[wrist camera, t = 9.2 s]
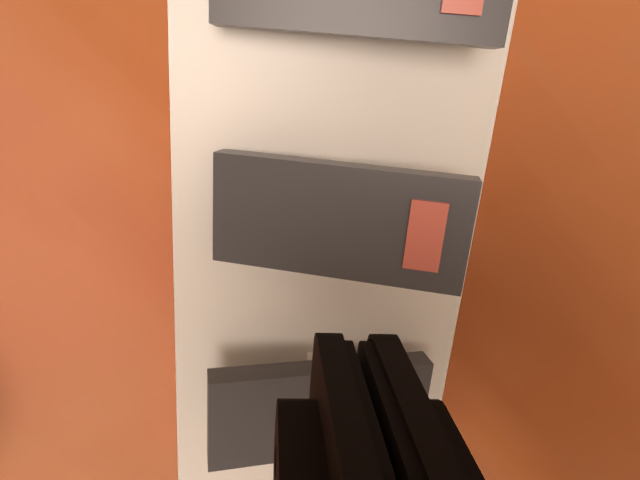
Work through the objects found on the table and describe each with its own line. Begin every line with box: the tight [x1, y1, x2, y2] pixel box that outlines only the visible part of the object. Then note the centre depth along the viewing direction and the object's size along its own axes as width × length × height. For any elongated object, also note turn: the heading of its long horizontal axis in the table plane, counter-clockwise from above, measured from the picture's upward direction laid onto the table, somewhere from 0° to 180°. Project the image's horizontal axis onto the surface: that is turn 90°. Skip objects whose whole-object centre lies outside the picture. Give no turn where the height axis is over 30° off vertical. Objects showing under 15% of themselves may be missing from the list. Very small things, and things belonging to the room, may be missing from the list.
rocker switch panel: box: [168, 0, 518, 480], centre depth 20 cm, size 12×30×4 cm, turn 175°
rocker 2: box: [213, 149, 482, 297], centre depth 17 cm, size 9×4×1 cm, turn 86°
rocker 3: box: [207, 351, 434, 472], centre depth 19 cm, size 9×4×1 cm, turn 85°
